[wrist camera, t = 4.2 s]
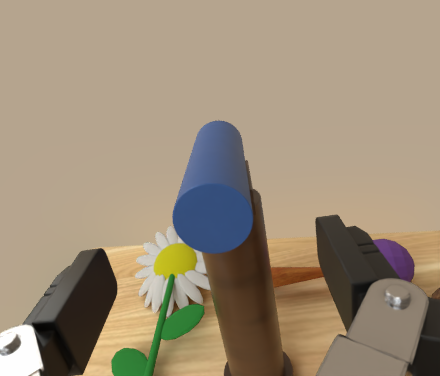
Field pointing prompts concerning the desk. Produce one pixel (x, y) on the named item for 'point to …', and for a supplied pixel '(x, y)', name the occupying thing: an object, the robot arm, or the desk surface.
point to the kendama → (291, 275)
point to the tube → (214, 192)
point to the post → (248, 303)
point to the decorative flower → (166, 297)
